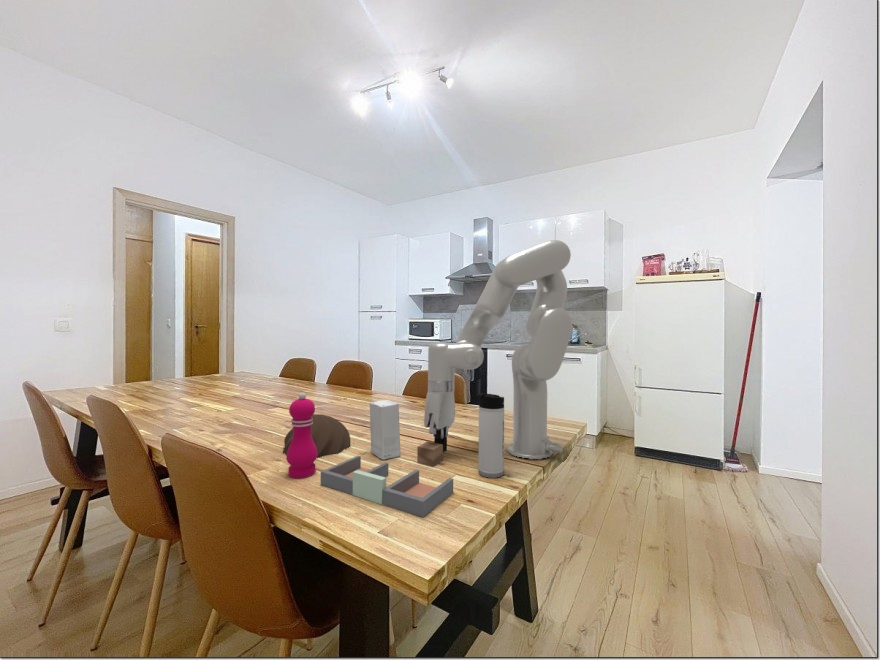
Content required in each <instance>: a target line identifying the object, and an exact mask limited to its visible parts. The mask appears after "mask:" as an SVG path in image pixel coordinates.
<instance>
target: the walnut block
mask: <svg viewBox="0 0 880 660" xmlns="http://www.w3.org/2000/svg"><path fill="white" fill-rule="evenodd" d="M416 448H417V451H416V453H417V454H416V455H417V456H416V457H417V459H416V461H417V464H421V465H425V466H429V467H435V466H437V465H438V464H440V463H442V462H443V461H444V453H443V444H438V443H434V441H433V442H432V441H424V443H421V444H420V445H418V446H417V447H416Z"/></svg>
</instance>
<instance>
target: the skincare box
mask: <svg viewBox="0 0 880 660" xmlns="http://www.w3.org/2000/svg"><path fill="white" fill-rule="evenodd" d="M369 422H370V424H369V425H370V427H369V429H370V453H371V454H373V455H375V456H376V457H377V458H379V459H381V460H383V461H384V460H389V459H394V458H395V459H396V458H400V457H401V432H400V427H401V426H400V404H399V403H398V402H394V401H392V400H391V401H390V400H388V399H384V400H377V401H372V402H371V401H370V402H369Z"/></svg>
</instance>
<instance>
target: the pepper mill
mask: <svg viewBox="0 0 880 660" xmlns="http://www.w3.org/2000/svg"><path fill="white" fill-rule="evenodd" d="M297 396H298V399H295V400H294V401H292V403H290V405H289V408H288V413H289V416H290V417H291V418H292V419H291V424H290V425H291V426H292V428H293V430H294V432H293V439H292V442H291V444H290V446H289V448H288V451H287V454H286V457H285V459H286V462H287V464H289V465H290V466H289V467H288V468H287V469H288V471H287V472H288V477H289V478H291V479H304V477H305V478H309V477H311V476H313V475H315V474H316V463H314V462H316V461H317V459H318V458H317V456H318V454H317V448H316V445H315V443H314V441H313V439H312V436H311V425H312V424H313V422H312V421H313V418H312V415H315V412H316V406H315V403H314V401H312V400H311V399H308V398H307V395H306V392H300V393H299V394H298V395H297ZM308 476H309V477H308Z"/></svg>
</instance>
